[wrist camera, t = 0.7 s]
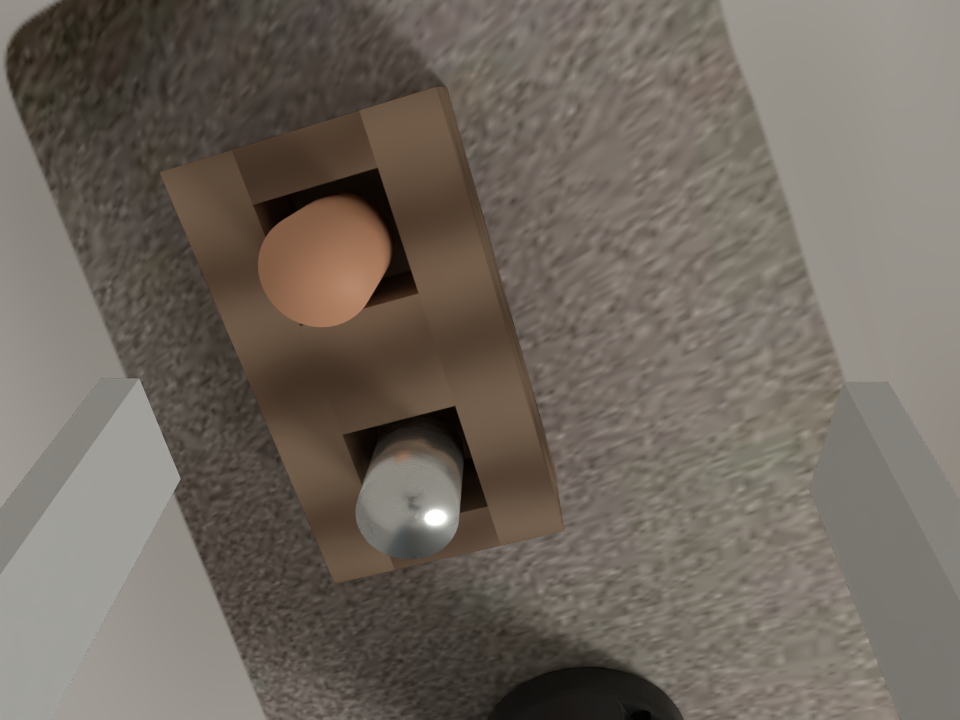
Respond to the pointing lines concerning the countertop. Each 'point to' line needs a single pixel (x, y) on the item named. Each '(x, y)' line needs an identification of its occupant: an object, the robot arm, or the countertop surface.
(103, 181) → the countertop surface
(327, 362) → the brown wooden block
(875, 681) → the countertop surface
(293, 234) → the tan rounded piece
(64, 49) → the countertop surface
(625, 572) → the countertop surface
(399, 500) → the grey rounded piece
